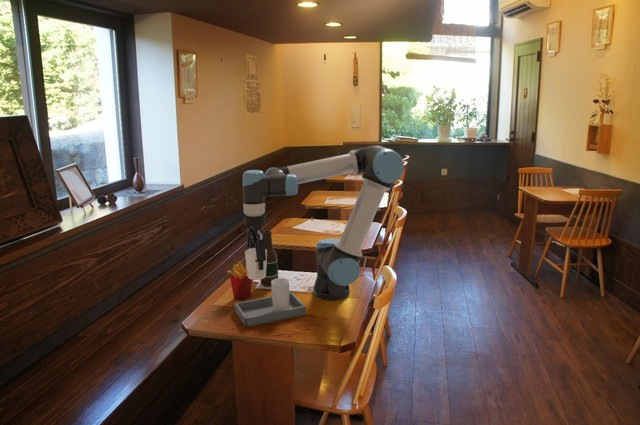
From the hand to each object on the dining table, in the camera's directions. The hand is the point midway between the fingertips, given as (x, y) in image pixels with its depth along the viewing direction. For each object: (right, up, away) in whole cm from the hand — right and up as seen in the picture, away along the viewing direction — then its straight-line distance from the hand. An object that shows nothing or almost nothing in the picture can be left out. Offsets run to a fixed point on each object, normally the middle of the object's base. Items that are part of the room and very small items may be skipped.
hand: (257, 273), depth 193 cm
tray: (+4, -16, +7) cm, 18 cm away
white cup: (0, -1, 0) cm, 1 cm away
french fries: (-10, -13, +21) cm, 27 cm away
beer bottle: (+1, -9, +36) cm, 37 cm away
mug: (+9, -15, +9) cm, 20 cm away
